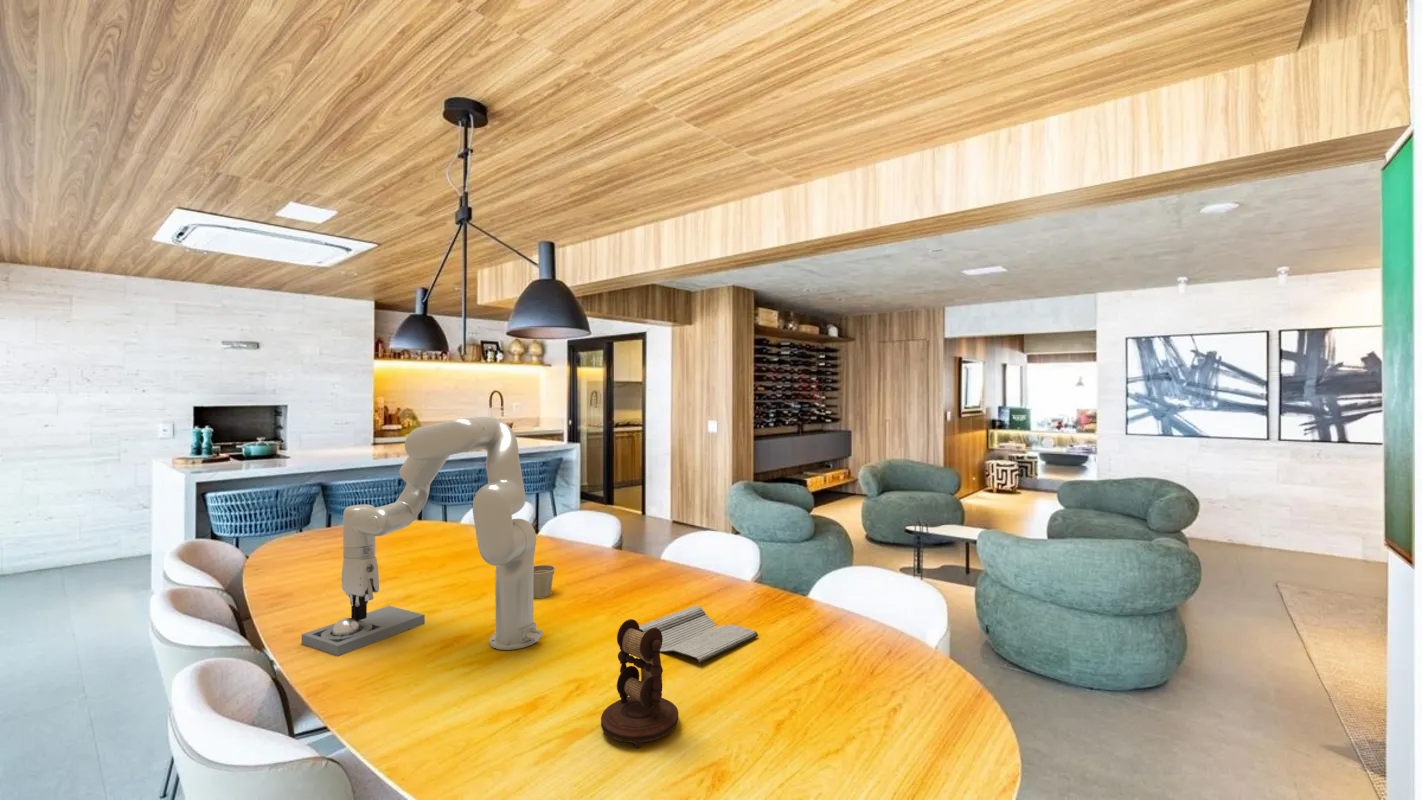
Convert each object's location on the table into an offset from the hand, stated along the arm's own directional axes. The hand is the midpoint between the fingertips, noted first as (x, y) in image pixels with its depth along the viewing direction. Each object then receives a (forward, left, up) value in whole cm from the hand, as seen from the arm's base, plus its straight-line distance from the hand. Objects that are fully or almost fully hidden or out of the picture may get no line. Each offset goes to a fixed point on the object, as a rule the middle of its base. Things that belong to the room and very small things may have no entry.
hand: (359, 619), depth 161 cm
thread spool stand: (-94, +3, -5) cm, 94 cm away
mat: (-83, -38, -5) cm, 91 cm away
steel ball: (-1, +4, -1) cm, 4 cm away
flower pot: (-21, -46, -4) cm, 51 cm away
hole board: (-1, -1, -4) cm, 4 cm away
